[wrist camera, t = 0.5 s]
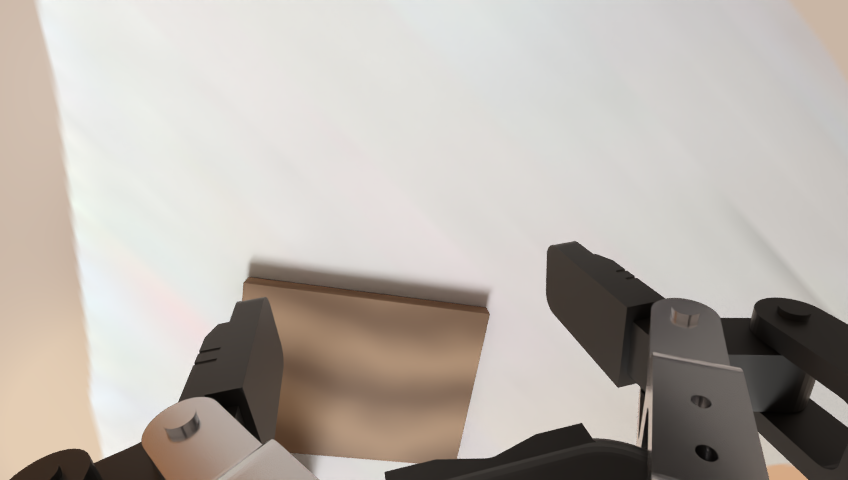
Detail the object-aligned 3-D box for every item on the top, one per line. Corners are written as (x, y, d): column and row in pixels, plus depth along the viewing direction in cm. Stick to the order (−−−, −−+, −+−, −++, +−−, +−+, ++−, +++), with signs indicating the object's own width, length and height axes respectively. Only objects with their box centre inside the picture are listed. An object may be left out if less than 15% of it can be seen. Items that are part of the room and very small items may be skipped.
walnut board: (248, 277, 32) (243, 283, 31) (486, 307, 34) (489, 314, 33) (237, 437, 36) (232, 447, 35) (453, 455, 38) (455, 466, 37)
